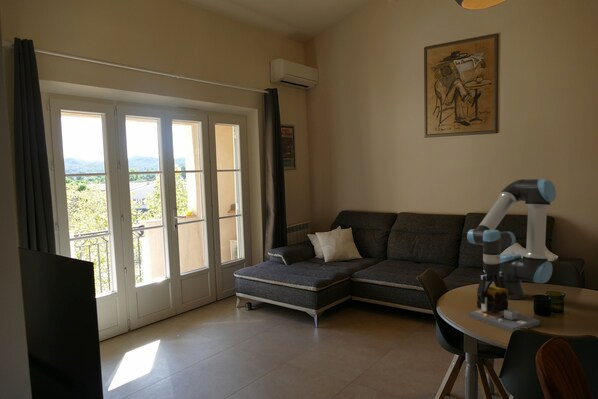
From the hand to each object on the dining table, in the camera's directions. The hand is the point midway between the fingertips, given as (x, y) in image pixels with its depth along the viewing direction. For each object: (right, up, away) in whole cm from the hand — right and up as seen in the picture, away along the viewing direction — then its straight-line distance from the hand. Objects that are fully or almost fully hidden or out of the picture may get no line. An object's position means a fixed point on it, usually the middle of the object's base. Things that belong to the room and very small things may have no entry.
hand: (492, 308), depth 204 cm
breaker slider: (+4, -2, -9) cm, 10 cm away
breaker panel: (+3, -4, -5) cm, 7 cm away
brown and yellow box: (0, -1, 0) cm, 1 cm away
